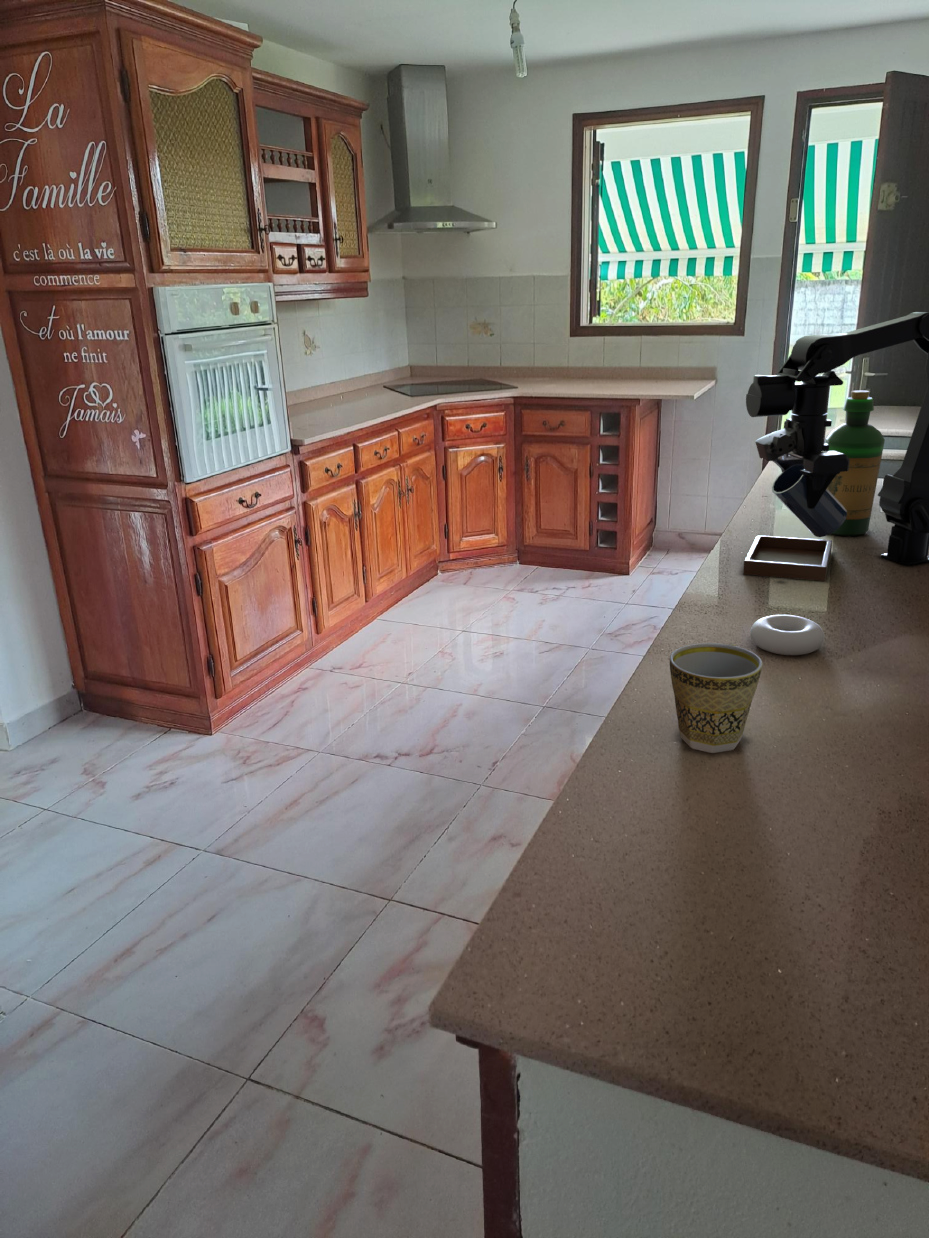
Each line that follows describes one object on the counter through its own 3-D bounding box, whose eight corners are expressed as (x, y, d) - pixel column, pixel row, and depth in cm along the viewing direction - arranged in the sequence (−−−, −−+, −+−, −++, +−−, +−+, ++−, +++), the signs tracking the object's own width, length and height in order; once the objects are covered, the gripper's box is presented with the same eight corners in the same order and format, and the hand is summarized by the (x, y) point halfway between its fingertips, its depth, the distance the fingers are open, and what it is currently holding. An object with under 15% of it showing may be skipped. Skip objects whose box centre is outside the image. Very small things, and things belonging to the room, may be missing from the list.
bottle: (816, 536, 177) (830, 394, 167) (817, 523, 186) (831, 388, 177) (873, 540, 173) (892, 394, 164) (872, 526, 183) (889, 388, 173)
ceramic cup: (741, 768, 95) (748, 684, 92) (653, 747, 100) (656, 667, 97) (772, 719, 105) (779, 642, 102) (690, 703, 110) (694, 629, 107)
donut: (824, 662, 120) (822, 635, 129) (826, 639, 119) (824, 613, 128) (747, 656, 124) (750, 629, 132) (749, 633, 122) (752, 608, 131)
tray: (756, 548, 172) (757, 535, 171) (830, 553, 166) (832, 540, 166) (743, 574, 157) (744, 560, 156) (824, 581, 152) (826, 567, 151)
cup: (844, 501, 157) (803, 457, 153) (849, 522, 152) (807, 477, 148) (810, 522, 161) (770, 479, 157) (815, 543, 156) (773, 499, 152)
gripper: (740, 409, 157) (735, 495, 162) (789, 424, 140) (781, 519, 145) (800, 406, 158) (792, 491, 164) (856, 419, 141) (845, 515, 146)
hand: (800, 503), depth 155 cm, fingers closed on cup, 7 cm apart
